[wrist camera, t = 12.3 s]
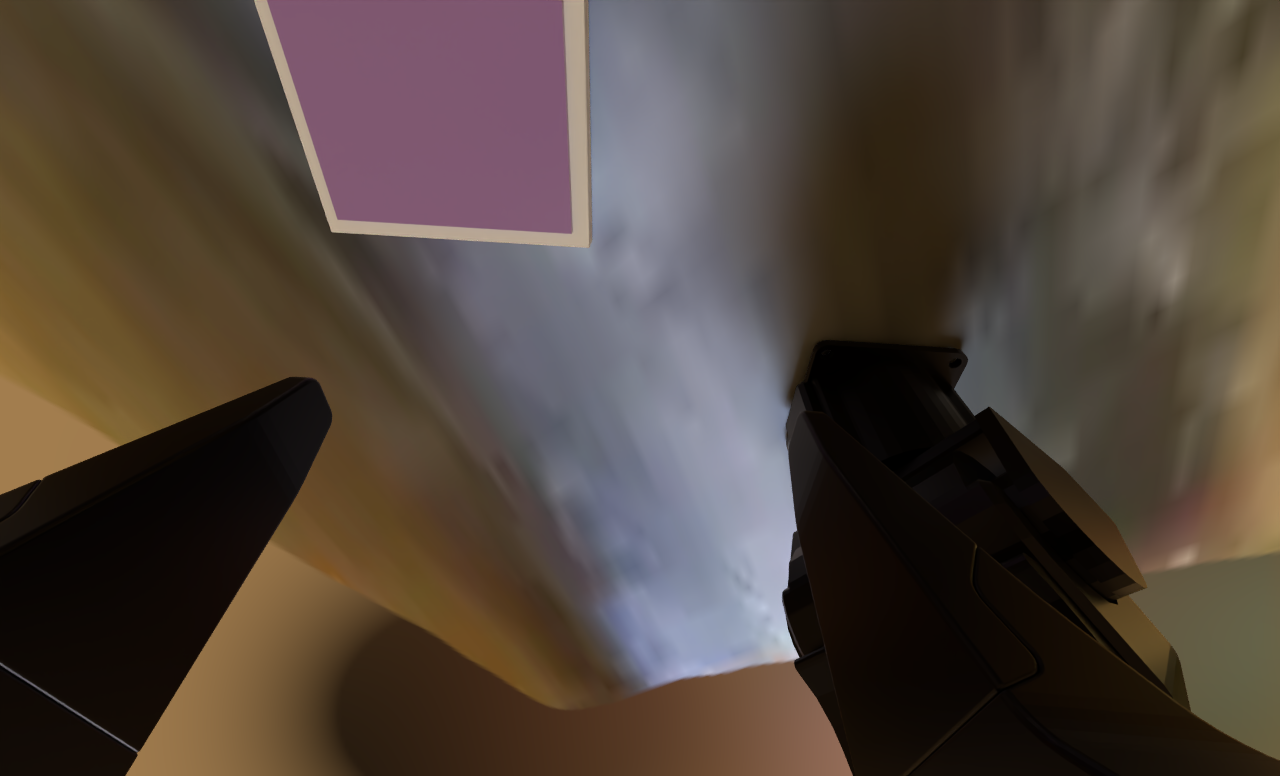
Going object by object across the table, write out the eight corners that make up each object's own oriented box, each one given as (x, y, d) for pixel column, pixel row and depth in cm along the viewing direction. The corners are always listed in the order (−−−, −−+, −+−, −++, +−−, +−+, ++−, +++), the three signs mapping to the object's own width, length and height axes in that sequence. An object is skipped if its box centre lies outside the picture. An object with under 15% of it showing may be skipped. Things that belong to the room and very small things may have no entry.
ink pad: (588, -23, 15) (581, -26, 14) (592, 239, 20) (588, 250, 19) (261, -39, 15) (232, -43, 14) (344, 224, 20) (327, 234, 19)
